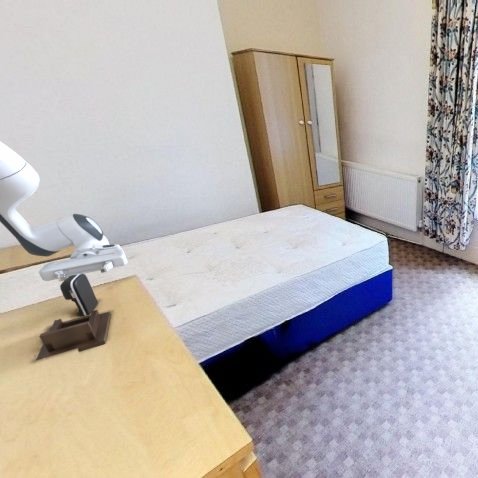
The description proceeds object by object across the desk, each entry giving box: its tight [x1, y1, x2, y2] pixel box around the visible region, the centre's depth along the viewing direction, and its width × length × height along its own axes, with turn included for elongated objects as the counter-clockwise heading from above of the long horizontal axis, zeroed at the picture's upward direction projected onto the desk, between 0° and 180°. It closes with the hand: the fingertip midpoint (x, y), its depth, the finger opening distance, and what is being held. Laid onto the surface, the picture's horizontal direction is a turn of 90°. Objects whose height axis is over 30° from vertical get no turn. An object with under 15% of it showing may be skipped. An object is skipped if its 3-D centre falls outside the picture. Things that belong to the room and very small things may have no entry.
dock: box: [35, 309, 112, 361], centre depth 84 cm, size 12×15×6 cm
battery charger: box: [59, 273, 99, 317], centre depth 93 cm, size 7×4×11 cm, turn 25°
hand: (83, 274), depth 101 cm, fingers open, 8 cm apart
